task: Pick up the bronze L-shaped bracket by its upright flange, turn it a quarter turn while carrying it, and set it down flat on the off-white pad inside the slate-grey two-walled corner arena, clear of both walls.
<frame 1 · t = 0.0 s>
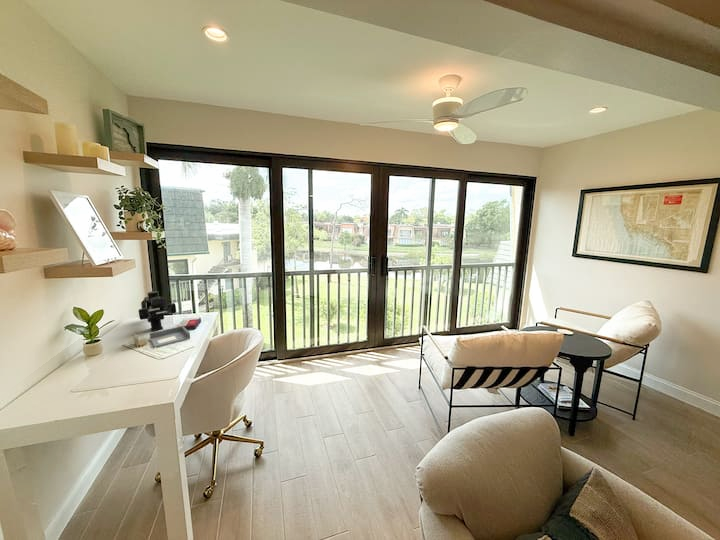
hand: (160, 314, 172), 17 cm above the table, tool horizontal, fingers open, 9 cm apart
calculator: (189, 327, 198), on the table
arena: (170, 339, 177), on the table
bracket: (141, 344, 170), on the table
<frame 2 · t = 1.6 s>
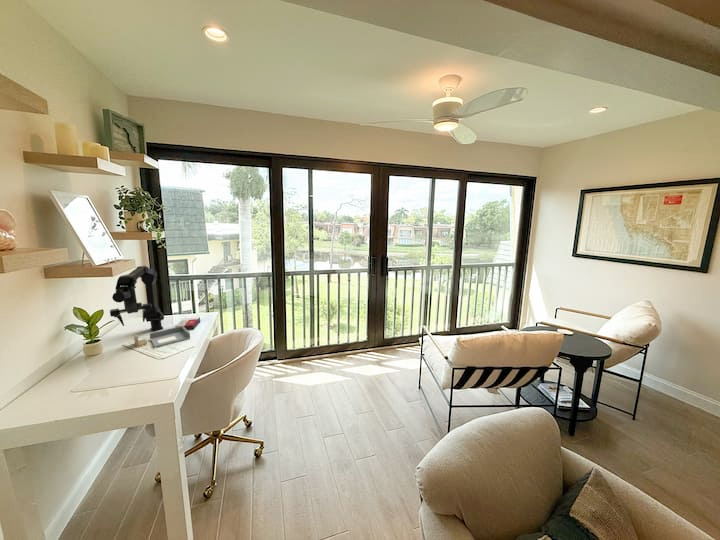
hand: (133, 323, 167), 13 cm above the table, tool pointing down, fingers open, 9 cm apart
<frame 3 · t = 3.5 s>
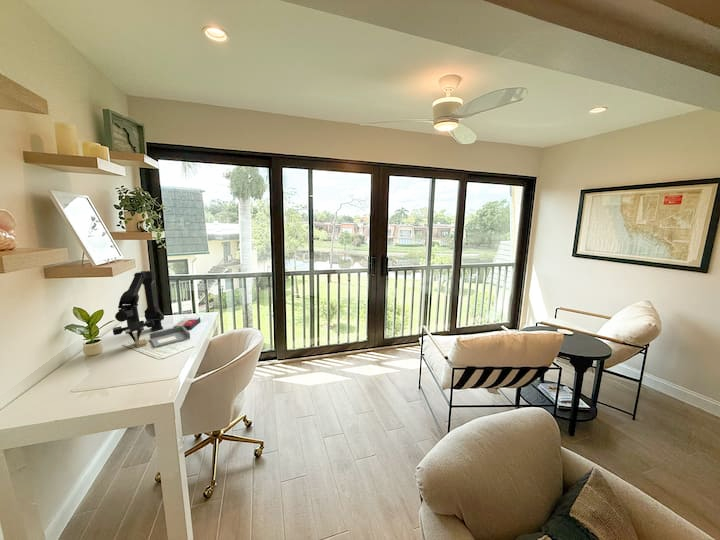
hand: (136, 341, 168), 3 cm above the table, tool pointing down, fingers closed on bracket
bracket: (141, 344, 170), on the table, touching gripper
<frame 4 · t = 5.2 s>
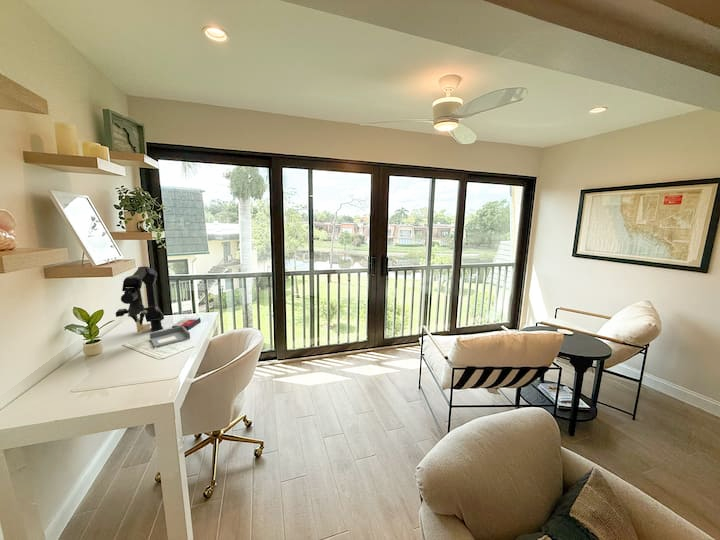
hand: (139, 324, 168), 12 cm above the table, tool pointing down, fingers closed on bracket
bracket: (144, 328, 169), point 9 cm above the table, touching gripper
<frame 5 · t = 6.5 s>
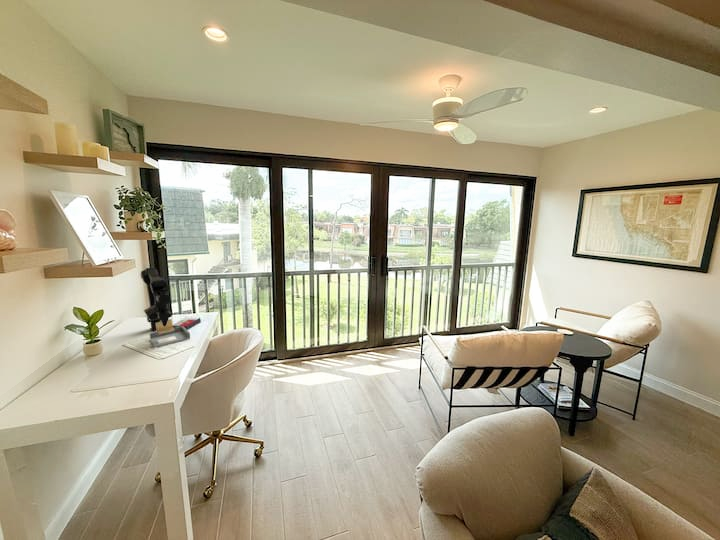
hand: (164, 325, 174), 9 cm above the table, tool pointing down, fingers closed on bracket
bracket: (165, 331, 173), point 6 cm above the table, touching gripper
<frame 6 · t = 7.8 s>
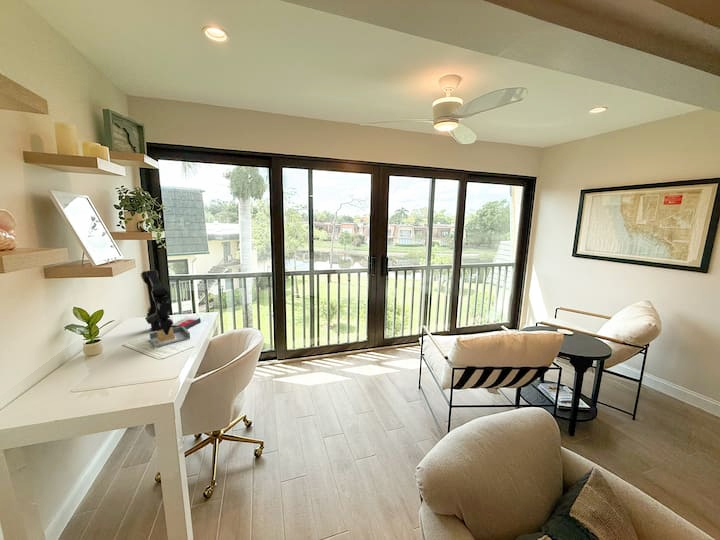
hand: (165, 333, 175), 4 cm above the table, tool pointing down, fingers open, 6 cm apart
bracket: (166, 339, 174), point 1 cm above the table, touching arena
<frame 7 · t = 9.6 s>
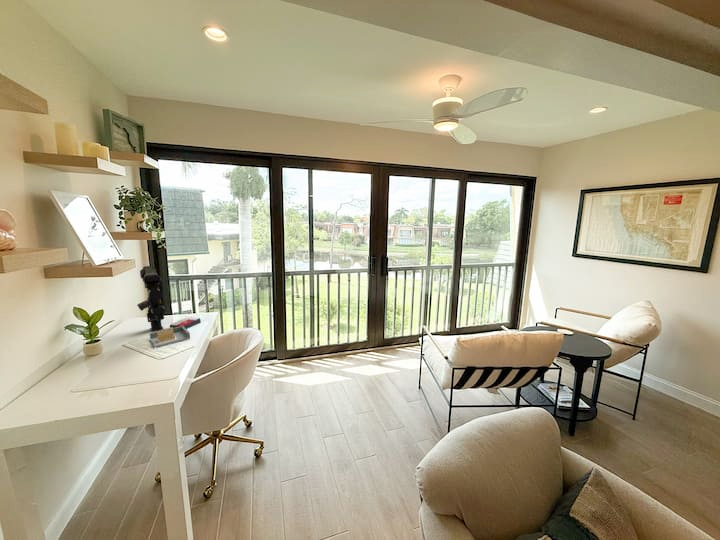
hand: (157, 320, 175), 12 cm above the table, tool pointing down, fingers open, 9 cm apart
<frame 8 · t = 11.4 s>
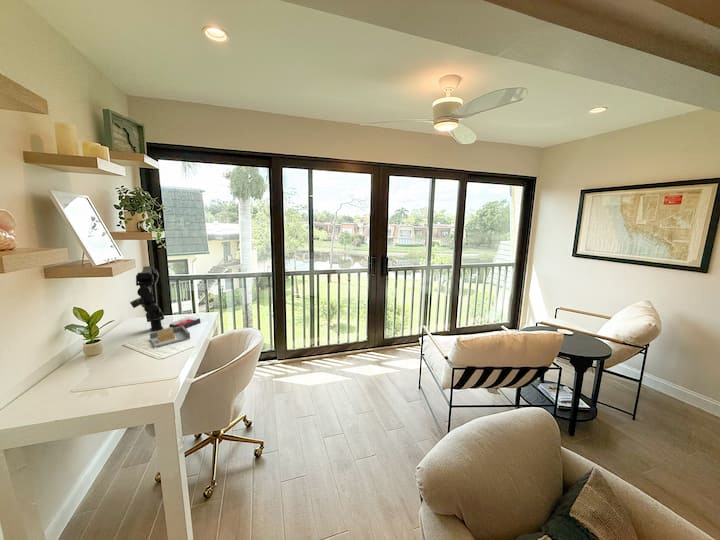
hand: (150, 317, 177), 13 cm above the table, tool pointing down, fingers open, 9 cm apart
at the end: bracket 0.7 cm from the target spot, point 1.0 cm above the table; bracket tilted 0°; the gripper is holding nothing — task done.
